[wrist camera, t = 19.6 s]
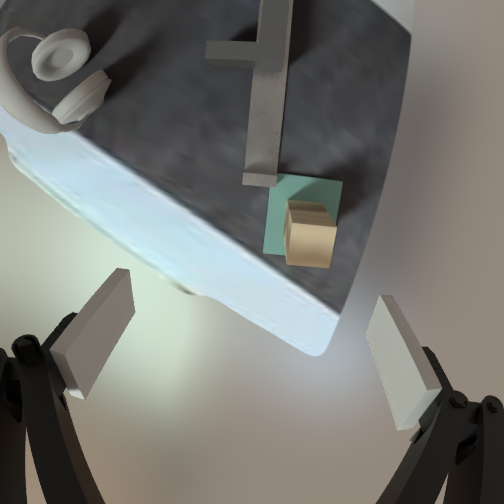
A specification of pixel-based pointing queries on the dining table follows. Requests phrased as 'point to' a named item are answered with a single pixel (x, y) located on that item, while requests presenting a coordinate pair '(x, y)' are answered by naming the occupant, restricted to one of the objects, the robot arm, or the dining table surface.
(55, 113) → the headphones
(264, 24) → the grey l-shaped block
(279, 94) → the rail
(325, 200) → the pad
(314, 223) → the beech block
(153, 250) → the dining table surface
